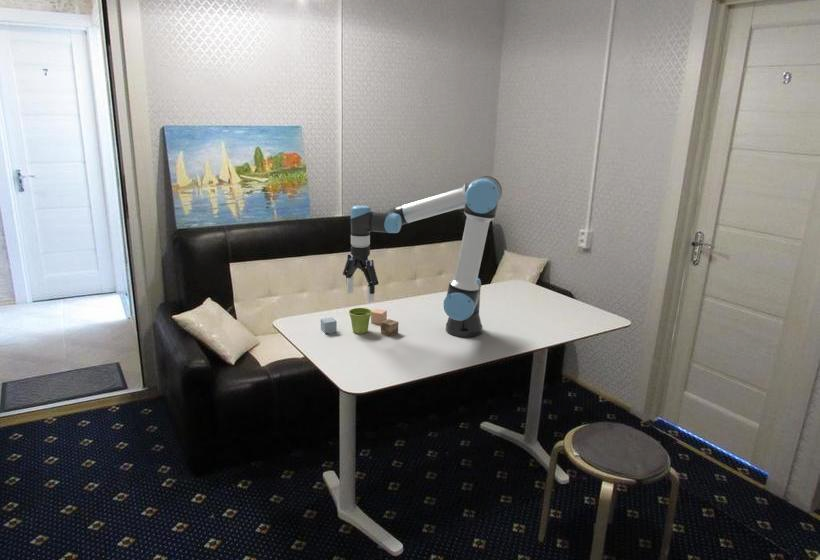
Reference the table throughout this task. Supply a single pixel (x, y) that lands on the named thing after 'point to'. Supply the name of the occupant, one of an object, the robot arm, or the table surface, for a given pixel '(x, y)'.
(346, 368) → the table surface
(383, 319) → the terracotta cube
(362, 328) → the plant pot
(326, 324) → the slate grey cube
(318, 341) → the table surface
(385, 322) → the walnut cube
